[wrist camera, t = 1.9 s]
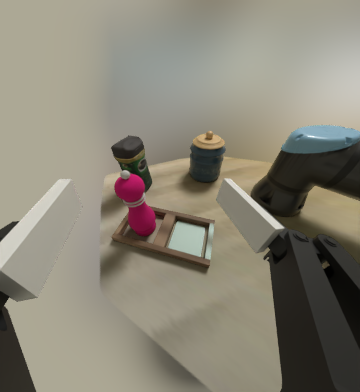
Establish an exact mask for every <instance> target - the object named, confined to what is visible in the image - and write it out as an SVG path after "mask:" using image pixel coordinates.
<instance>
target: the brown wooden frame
mask: <svg viewBox="0 0 360 392" xmlns="http://www.w3.org/2000/svg"><path fill="white" fill-rule="evenodd" d="M149 207H150V206H149ZM150 208H151V209H152V210H153V211H154V213H155V214H156V215H160V216H164V220H163V222H162V224H161V226H160V229H159V231H158V233H157V236H156V238H155V240H154V243H153V244H151V243H148V242H144V241H141V240H137V239H134V238H130V237H126V236H123V235H122V234H123V233H124V231H125V230H126V228H127V226H128V225H129V222H128V214H127V215H126V216H125V218H124V219H123V221H122V222H121V224H120V225H119V227H118V228H117V229H116V231H115V232H114V234H113V235H112V239H113V240H114V241H118V242H121V243H125V244H128V245H131V246H135V247H138V248H142V249H145V250H149V251H152V252H155V253H159V254H162V255H166V256H169V257H173V258H176V259H179V260H183V261H186V262H190V263H193V264H197V265H200V266H204V267H207V268H209V266H210V258H211V249H212V240H213V231H214V222H215V220H210V219H205V218H201V217H196V216H192V215H187V214H182V213H178V212H173V211H169V210H164V209H159V208H155V207H150ZM128 213H129V212H128ZM176 219H177V220H182V221H186V222H191V223H195V224H199V225H204V226H208V227H209V230H208V237H207V244H206V251H205V258H202V257H198V256H195V255H191V254H187V253H184V252H180V251H177V250H173V249H169V248H166V245H167V242H168V240H169V237H170V234H171V231H172V229H173V226H174V223H175V220H176Z"/></svg>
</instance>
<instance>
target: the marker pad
mask: <svg viewBox="0 0 360 392" xmlns="http://www.w3.org/2000/svg"><path fill="white" fill-rule="evenodd" d="M204 233H205V227H201V226H197V225H193V224H188V223H184V222H180V221H177V223H176V226H175V229H174V232H173V235H172V238H171V241H170V244H169V247H168V248H169V249H173V250H177V251H180V252H184V253H187V254H191V255H195V256H198V257H201V252H202V246H203V239H204Z"/></svg>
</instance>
